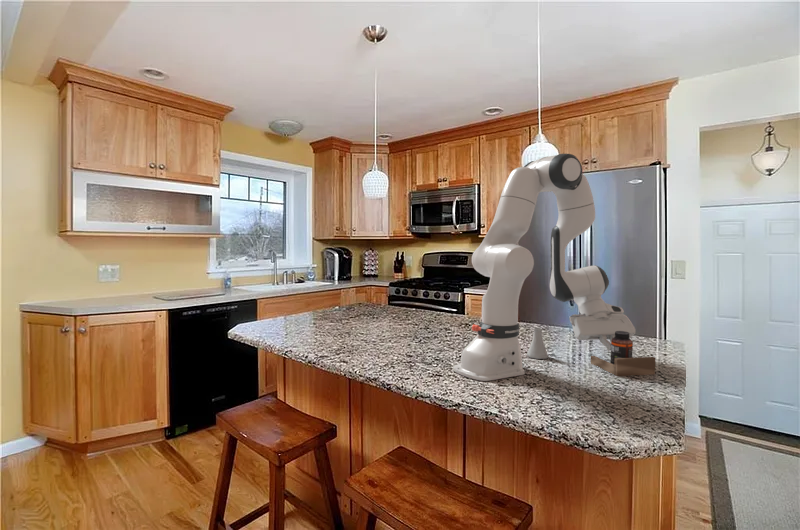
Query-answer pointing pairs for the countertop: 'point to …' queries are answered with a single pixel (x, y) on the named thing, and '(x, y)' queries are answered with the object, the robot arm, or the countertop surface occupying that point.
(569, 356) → the countertop surface
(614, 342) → the supplement bottle
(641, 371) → the walnut bay
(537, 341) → the flask
